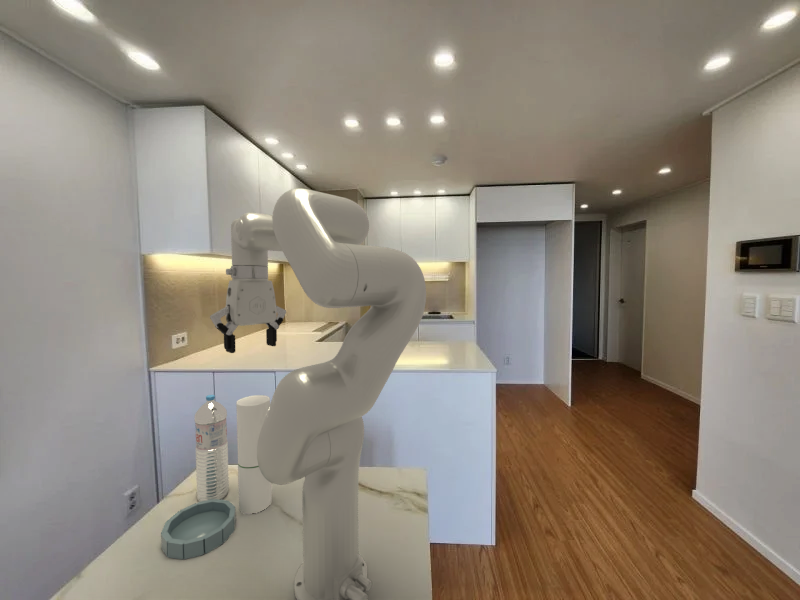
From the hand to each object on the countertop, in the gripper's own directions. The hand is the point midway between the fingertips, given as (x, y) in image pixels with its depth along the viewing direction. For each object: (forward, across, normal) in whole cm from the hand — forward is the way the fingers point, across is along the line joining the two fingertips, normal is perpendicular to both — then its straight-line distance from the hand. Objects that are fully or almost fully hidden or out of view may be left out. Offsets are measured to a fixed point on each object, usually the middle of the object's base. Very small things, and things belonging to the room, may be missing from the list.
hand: (251, 348), depth 78 cm
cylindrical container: (+37, 0, 0) cm, 37 cm away
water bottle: (+37, -5, +11) cm, 39 cm away
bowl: (+37, -12, 0) cm, 39 cm away
